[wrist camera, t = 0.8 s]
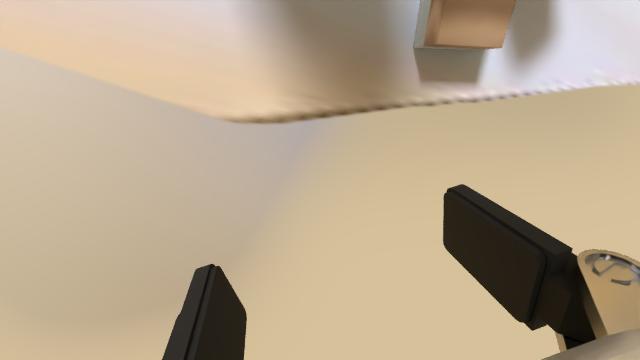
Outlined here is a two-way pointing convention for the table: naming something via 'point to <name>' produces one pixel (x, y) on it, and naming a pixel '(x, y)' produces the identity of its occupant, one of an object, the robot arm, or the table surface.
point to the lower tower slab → (422, 25)
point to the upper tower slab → (468, 23)
